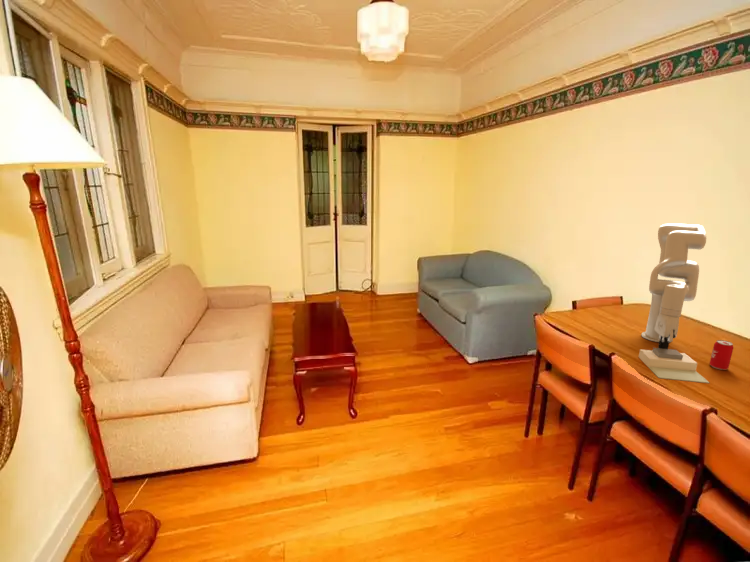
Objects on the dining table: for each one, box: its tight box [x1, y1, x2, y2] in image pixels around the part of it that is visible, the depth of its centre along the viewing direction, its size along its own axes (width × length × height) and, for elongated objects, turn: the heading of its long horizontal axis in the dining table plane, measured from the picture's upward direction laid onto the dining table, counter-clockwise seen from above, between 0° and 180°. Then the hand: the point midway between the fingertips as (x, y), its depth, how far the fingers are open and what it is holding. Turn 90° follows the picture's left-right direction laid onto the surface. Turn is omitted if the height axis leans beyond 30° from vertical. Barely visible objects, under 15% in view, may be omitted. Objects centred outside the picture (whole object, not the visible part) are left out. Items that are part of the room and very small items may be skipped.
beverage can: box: [709, 339, 734, 371], centre depth 163 cm, size 6×6×12 cm
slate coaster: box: [652, 347, 683, 360], centre depth 167 cm, size 6×9×2 cm, turn 76°
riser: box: [638, 349, 698, 372], centre depth 167 cm, size 10×18×4 cm, turn 76°
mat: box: [647, 366, 710, 384], centre depth 158 cm, size 10×18×1 cm, turn 76°
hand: (662, 349), depth 171 cm, fingers closed
